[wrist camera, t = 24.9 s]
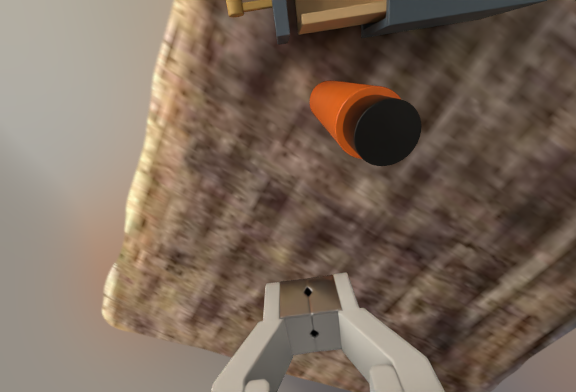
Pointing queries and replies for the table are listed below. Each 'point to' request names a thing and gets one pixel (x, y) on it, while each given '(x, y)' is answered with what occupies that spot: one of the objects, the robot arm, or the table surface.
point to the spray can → (367, 120)
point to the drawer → (314, 14)
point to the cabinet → (437, 13)
